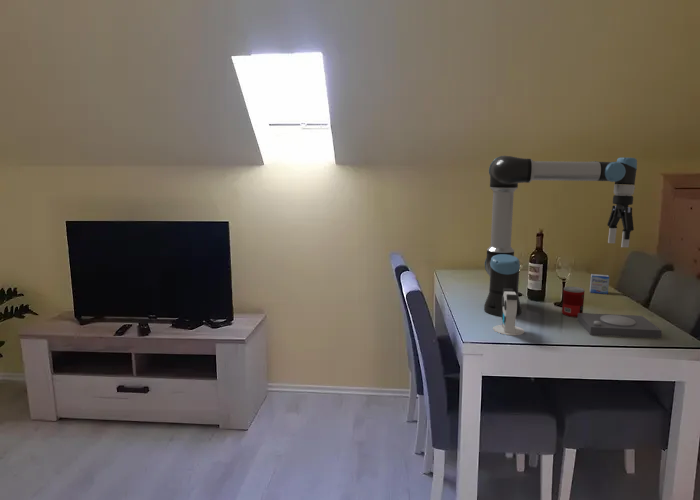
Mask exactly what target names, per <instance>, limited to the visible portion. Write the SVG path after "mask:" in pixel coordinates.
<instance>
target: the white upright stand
mask: <svg viewBox="0 0 700 500" xmlns="http://www.w3.org/2000/svg"><path fill="white" fill-rule="evenodd" d="M502 307H503V312H502V316H501V320H502V321H501V322H502V324H498V325H497V324H496V325H494V326H493V327H492V330H494V331H493V332H495V333H496V332H498V333H497V334H499V333H501V334H500V335H503V334H506V336H521V335H523V334H525V330H524V328H522V327H520V326H517V325H516V318H517V315H516V313H517V295H516V293H515V292H513V289H505V288H504V289H503V296H502Z"/></svg>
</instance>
